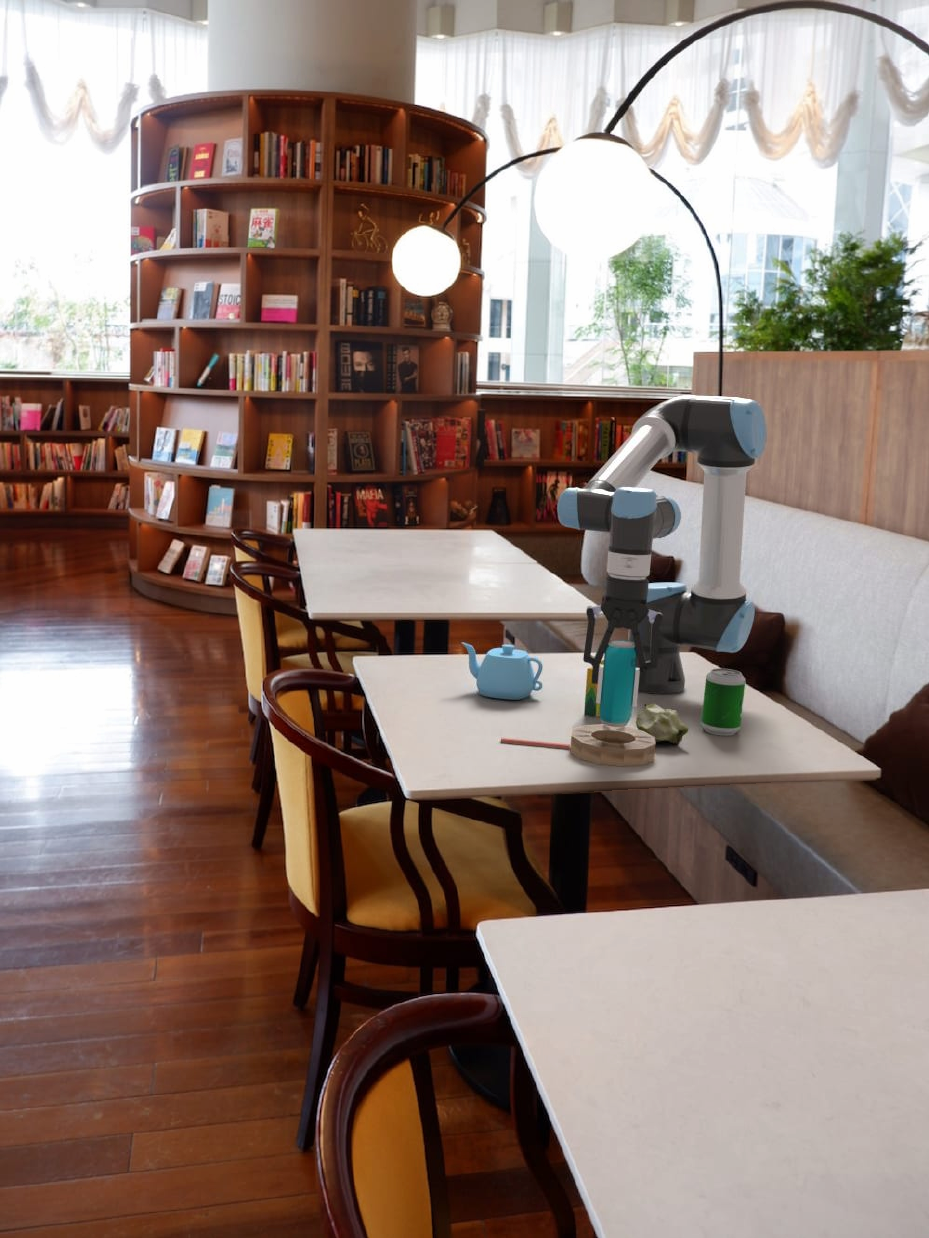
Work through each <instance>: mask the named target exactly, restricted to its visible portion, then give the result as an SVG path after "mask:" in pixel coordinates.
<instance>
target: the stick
mask: <svg viewBox="0 0 929 1238" xmlns="http://www.w3.org/2000/svg"><path fill="white" fill-rule="evenodd" d="M500 743H503V744H504V743H506V744H515V745H524V746H525V745H526V746H534V747H535V746H536V747H546V748H555V749H557V748H558V749H565V750H570V748H571V743H570V744H569V743H568V744H567V743H559V742H558V743H557V742H547V741H538V740H526V739H519V738H518V739H516V738H509V737H507V738H506V737H505V738H504V737H501V738H500Z"/></svg>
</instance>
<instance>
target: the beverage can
mask: <svg viewBox="0 0 929 1238" xmlns="http://www.w3.org/2000/svg"><path fill="white" fill-rule="evenodd" d="M603 660H604V665H603V678H602V690H601V701H600V710H599V714H600V716H599V717H600V721H601V724H605V725H607V726H612V727H624V726H626V727H627V726H628V724H629V721H630V720H631V717H632V713H633V712H632V711H633V706H632V702H633V691H634V680H635V670H636V660H637V653H636V648H635V643H634V642H632V641H628V639H617V638H615V639H610V640H609V643H608V645H607V648H606V650H605V653H604V655H603Z"/></svg>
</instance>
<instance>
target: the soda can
mask: <svg viewBox="0 0 929 1238" xmlns="http://www.w3.org/2000/svg"><path fill="white" fill-rule="evenodd" d="M704 684H705V685H704V693H703V694H704V695H703V704H702V711H701V712H702V714H701V726H702V727H703V728H704V730H705V731H706V733H709V734H712V735H717V736H722V737H723V736H724V737H725V736H728V737H729V736H734V735H736V733H737V732H738V731H740V729H741V725H742V716H743V706H744V705H743V704H744V697H745V689H746V678H745V677H744V675H743V674H742V672H741V671H738V670H735V669H731V668H722V667H720V668H719V667H718V668H713V669H711V671H710V672H708V673H706V675H705V683H704Z"/></svg>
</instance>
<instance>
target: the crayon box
mask: <svg viewBox="0 0 929 1238" xmlns="http://www.w3.org/2000/svg"><path fill="white" fill-rule="evenodd" d="M600 665H604V659H602V660H601V663H600ZM592 669H593V667H592V666H591V667H588V668H587V670H586V683H585V684H586V686H585V697H584V710H583V711H584V713H583V714H584V716H587V717H592V718H595V719H596V718H598V717H600V714H599V710H600V703H596V698H597V687H598V684H593V683H592Z"/></svg>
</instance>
